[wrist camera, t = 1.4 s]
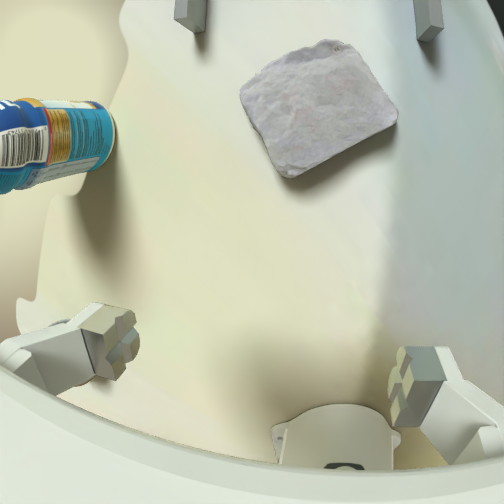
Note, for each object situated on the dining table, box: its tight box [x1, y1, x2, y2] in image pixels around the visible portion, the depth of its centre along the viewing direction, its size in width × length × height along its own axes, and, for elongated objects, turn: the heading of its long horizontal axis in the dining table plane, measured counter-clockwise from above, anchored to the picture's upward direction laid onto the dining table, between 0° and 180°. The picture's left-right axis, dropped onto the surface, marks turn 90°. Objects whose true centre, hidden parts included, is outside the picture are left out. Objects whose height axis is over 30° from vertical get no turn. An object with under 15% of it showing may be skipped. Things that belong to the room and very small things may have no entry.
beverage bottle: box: [0, 98, 115, 194], centre depth 22 cm, size 8×8×20 cm
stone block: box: [240, 39, 398, 178], centre depth 25 cm, size 12×5×10 cm
